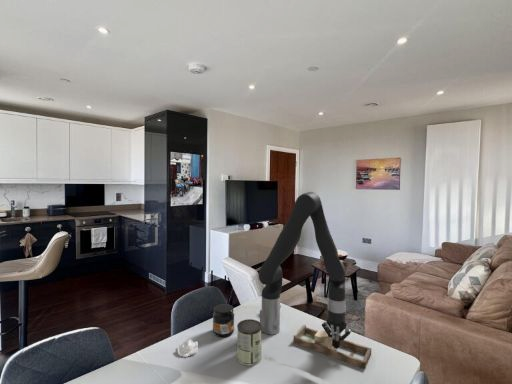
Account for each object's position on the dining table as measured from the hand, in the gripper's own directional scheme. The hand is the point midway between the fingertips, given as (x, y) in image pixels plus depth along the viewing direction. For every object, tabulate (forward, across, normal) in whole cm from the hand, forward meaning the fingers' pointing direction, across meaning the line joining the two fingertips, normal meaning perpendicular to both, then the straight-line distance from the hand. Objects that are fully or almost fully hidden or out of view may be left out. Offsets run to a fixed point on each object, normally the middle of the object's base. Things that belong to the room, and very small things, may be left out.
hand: (336, 347), depth 120 cm
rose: (+2, -54, -35) cm, 65 cm away
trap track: (+2, -2, 0) cm, 3 cm away
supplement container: (+2, -51, -15) cm, 54 cm away
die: (+2, -41, +16) cm, 44 cm away
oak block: (+1, -6, 0) cm, 6 cm away
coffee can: (+2, -29, -24) cm, 38 cm away
